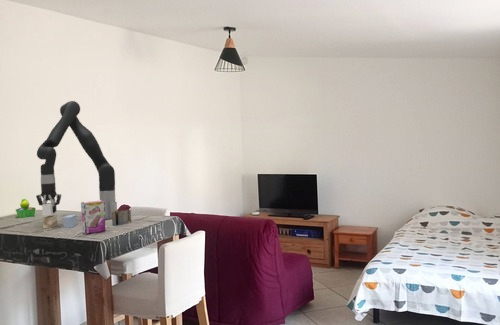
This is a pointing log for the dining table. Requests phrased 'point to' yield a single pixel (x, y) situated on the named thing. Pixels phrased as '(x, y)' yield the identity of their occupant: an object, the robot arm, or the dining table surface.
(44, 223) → the oak block
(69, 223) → the blue block
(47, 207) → the white block
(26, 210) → the fruit basket
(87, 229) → the candy bar box
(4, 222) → the dining table surface
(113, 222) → the architectural model on board
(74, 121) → the robot arm
